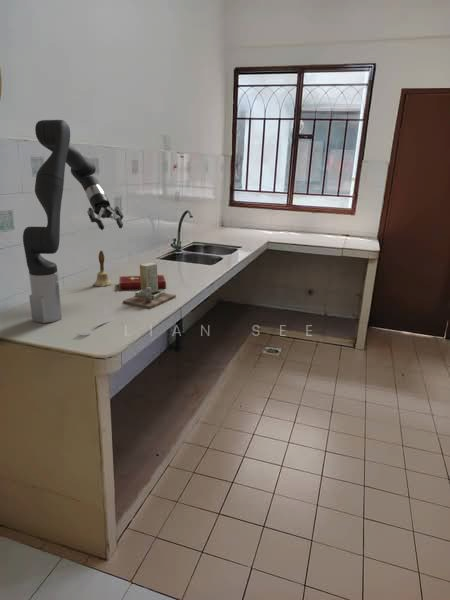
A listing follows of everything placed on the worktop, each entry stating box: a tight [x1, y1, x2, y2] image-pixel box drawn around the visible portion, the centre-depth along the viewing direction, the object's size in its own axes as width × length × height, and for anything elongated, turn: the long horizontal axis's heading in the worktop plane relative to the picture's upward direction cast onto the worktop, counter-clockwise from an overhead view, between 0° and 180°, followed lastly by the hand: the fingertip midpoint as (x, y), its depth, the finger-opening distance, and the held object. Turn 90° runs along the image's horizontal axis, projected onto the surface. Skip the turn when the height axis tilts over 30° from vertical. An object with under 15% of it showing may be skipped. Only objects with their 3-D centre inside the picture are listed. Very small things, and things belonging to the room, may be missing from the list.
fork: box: [76, 317, 116, 336], centre depth 148 cm, size 3×24×2 cm, turn 162°
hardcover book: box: [118, 274, 167, 291], centre depth 198 cm, size 12×21×4 cm, turn 102°
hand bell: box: [93, 250, 113, 287], centre depth 198 cm, size 8×8×16 cm
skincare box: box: [139, 262, 159, 293], centre depth 179 cm, size 6×4×12 cm
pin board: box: [122, 287, 177, 309], centre depth 177 cm, size 18×14×7 cm
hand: (112, 228), depth 178 cm, fingers open, 8 cm apart
